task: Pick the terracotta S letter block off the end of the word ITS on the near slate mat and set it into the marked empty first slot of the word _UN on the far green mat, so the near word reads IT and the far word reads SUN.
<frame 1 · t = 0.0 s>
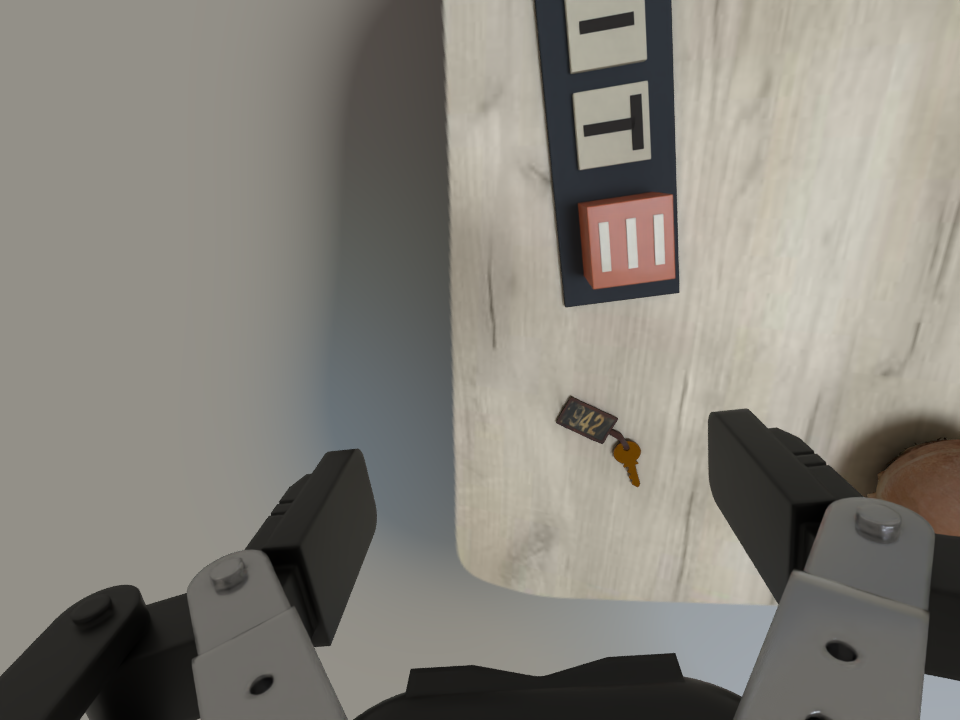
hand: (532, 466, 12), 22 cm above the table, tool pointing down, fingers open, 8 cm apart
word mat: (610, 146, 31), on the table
key tag: (600, 442, 37), on the table
onion: (914, 474, 36), on the table
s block: (617, 235, 32), resting on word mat
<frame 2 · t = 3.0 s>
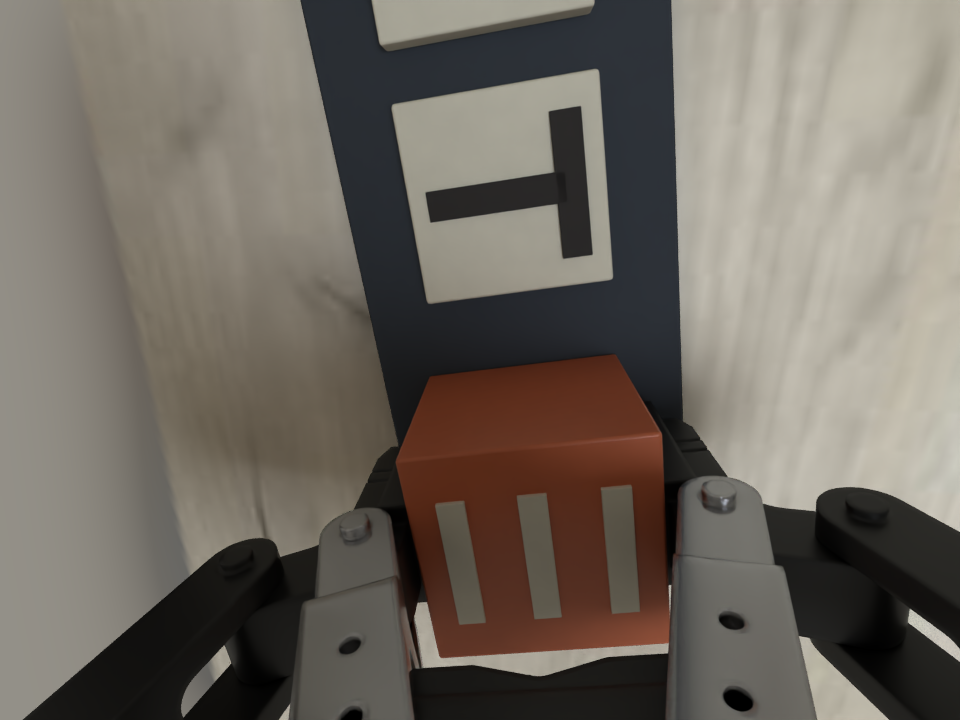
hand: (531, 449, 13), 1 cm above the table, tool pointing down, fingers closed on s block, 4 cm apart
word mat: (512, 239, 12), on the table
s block: (531, 447, 13), point 1 cm above the table, touching gripper
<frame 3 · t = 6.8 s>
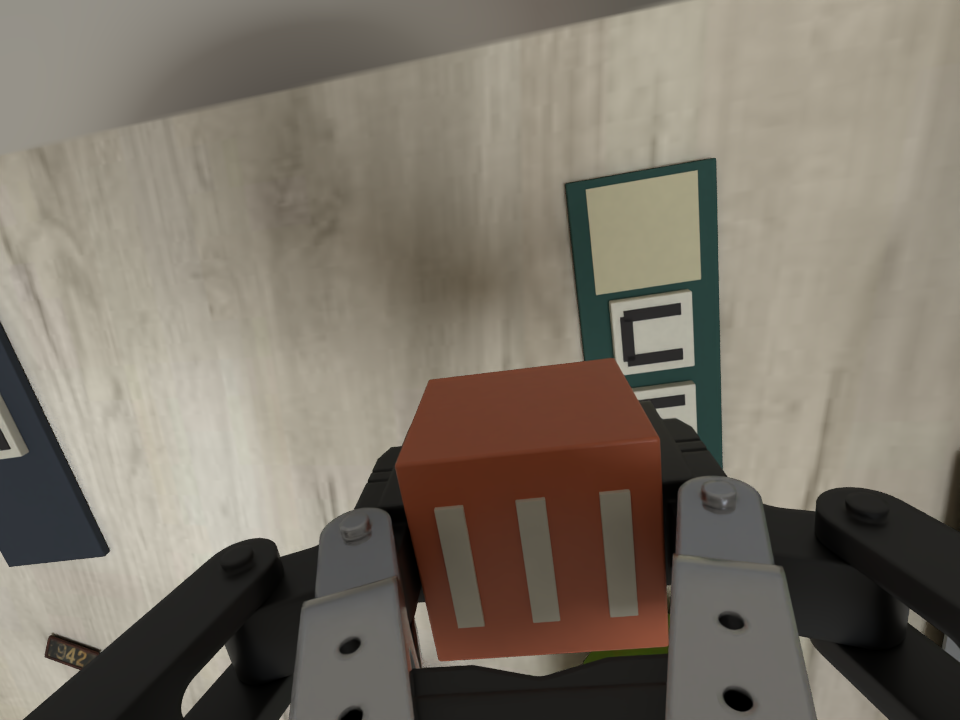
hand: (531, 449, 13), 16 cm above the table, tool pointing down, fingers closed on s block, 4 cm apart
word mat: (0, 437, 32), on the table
key tag: (95, 670, 39), on the table
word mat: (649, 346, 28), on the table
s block: (530, 450, 13), point 16 cm above the table, touching gripper
apple: (654, 654, 36), on the table
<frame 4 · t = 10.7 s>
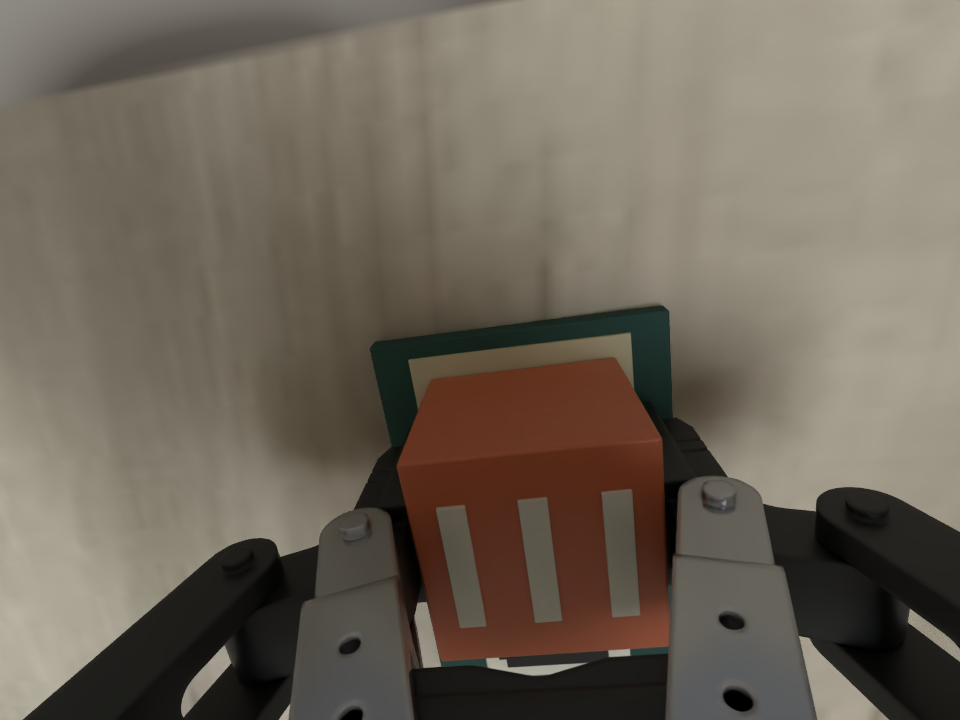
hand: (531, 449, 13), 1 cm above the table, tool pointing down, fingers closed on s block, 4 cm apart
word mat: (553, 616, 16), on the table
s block: (532, 450, 13), point 1 cm above the table, touching gripper
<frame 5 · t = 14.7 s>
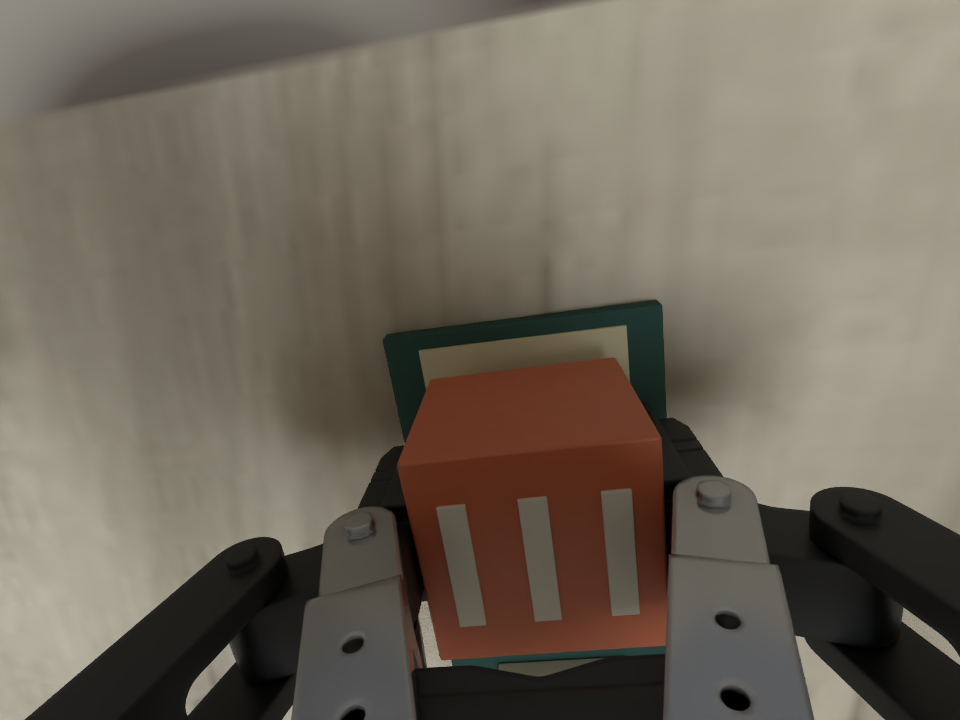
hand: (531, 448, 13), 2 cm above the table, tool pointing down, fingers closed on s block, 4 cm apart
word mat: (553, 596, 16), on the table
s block: (531, 450, 13), point 2 cm above the table, touching gripper
when the fingers open (2 cm above the table, at t = 18.3 s): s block drops 1 cm, resting on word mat.
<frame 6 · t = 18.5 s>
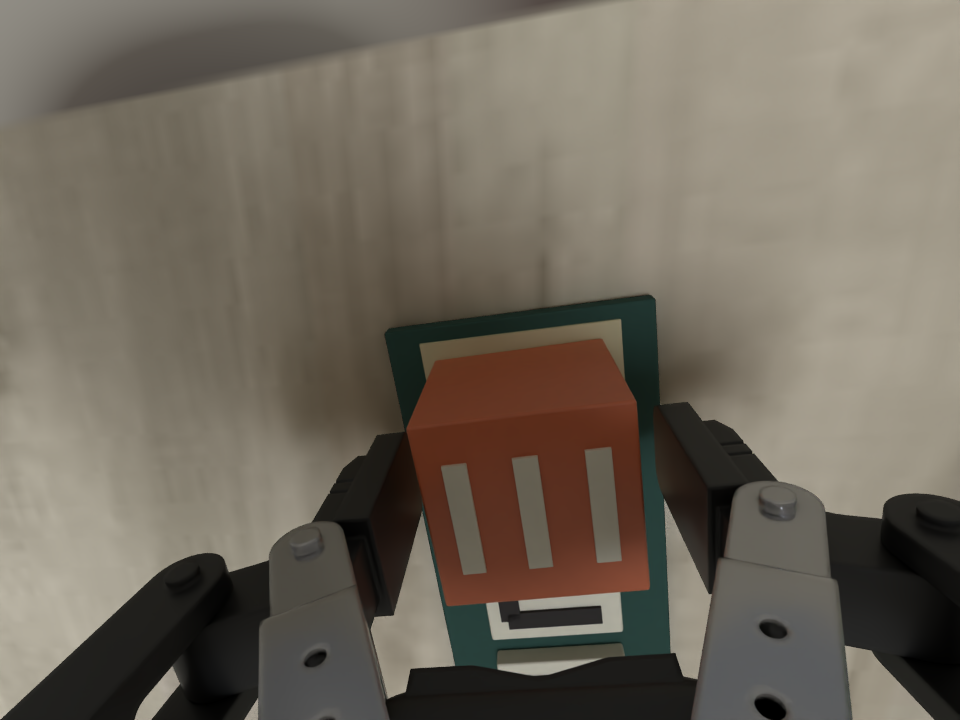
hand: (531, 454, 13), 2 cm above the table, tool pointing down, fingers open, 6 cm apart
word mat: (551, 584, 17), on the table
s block: (528, 424, 14), point 1 cm above the table, touching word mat
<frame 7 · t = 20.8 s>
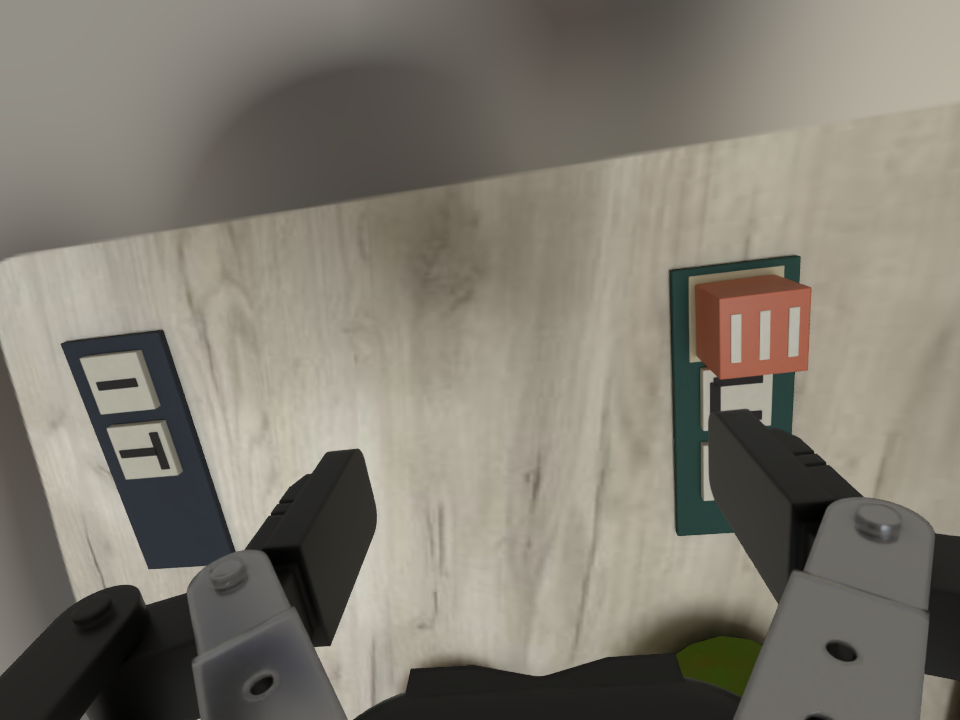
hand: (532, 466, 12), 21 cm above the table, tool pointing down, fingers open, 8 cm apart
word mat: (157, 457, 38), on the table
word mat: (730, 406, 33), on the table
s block: (734, 316, 31), point 1 cm above the table, touching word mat
apple: (712, 673, 40), on the table
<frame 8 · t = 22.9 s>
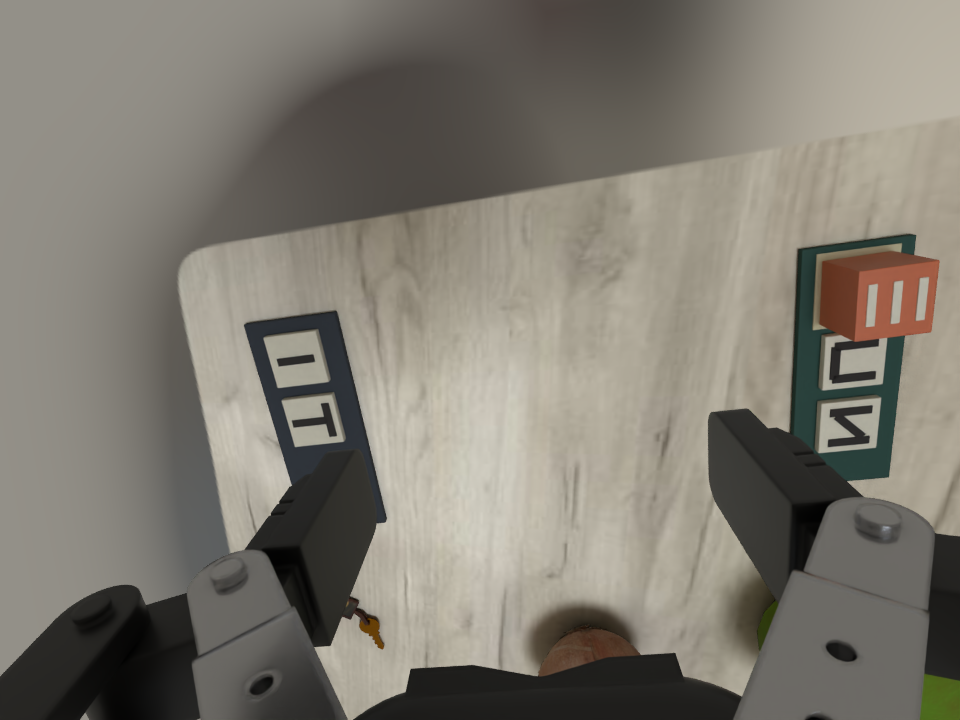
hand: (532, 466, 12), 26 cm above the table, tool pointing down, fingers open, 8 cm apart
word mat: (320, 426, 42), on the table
key tag: (350, 616, 48), on the table
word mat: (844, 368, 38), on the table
onion: (588, 643, 48), on the table
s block: (855, 288, 35), point 1 cm above the table, touching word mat
apple: (812, 610, 45), on the table
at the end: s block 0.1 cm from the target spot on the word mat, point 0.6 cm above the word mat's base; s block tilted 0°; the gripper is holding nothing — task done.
